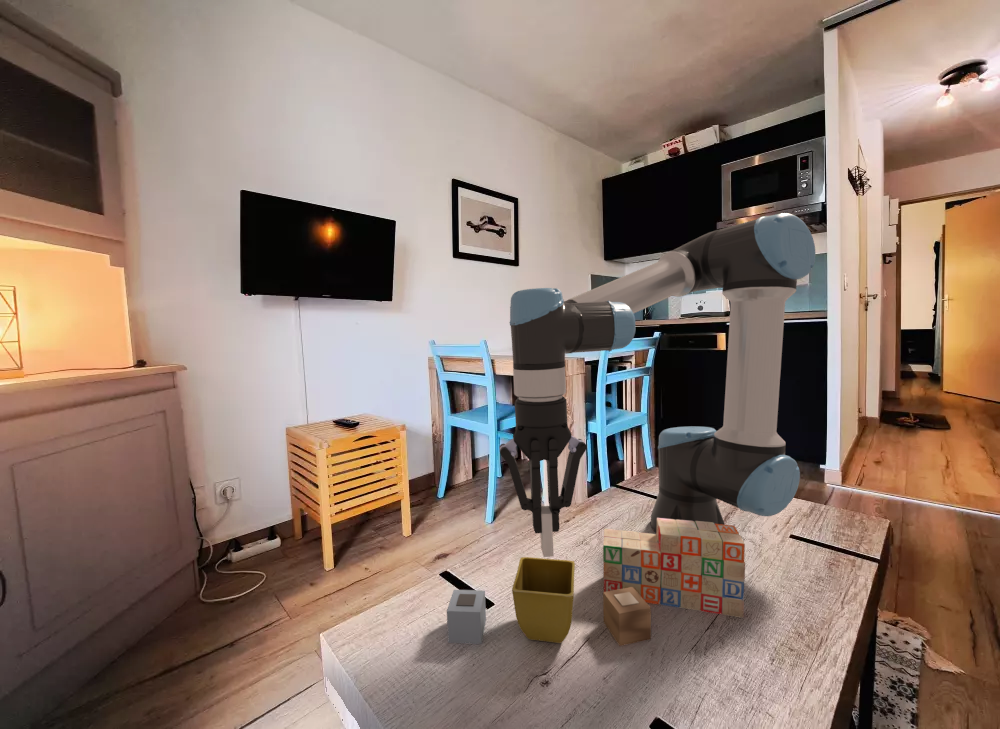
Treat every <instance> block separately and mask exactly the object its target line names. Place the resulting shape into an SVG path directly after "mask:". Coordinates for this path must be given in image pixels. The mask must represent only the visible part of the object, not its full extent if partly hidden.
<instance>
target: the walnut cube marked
mask: <svg viewBox="0 0 1000 729" xmlns="http://www.w3.org/2000/svg"><path fill="white" fill-rule="evenodd" d="M602 603H603V604H602V606H603V608H602V609H603V611H602V612H603V616H602V617H603V623H604V625H605V627H606V628H607V630H608V631H609V633H610V634H611V635H612V637H613V639H614V640H615V642H616V643H617V645H618V646H619V647H621V646H627V645H631V644H636V643H641V642H646V641H650V640H651V639H652V625H651V624H652V620H651V619H652V618H651V617H652V615H651V614H652V610H651V609H652V608H651V606H650V605H649V603H646V602H645V600H644V599H643V598H642V597H641V596H640V595H639V594H638V593H637V591H636V590H635V589H634V588H633V587H629V588H623V589H618V590H612V591H607V592H604V591H603V593H602Z"/></svg>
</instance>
